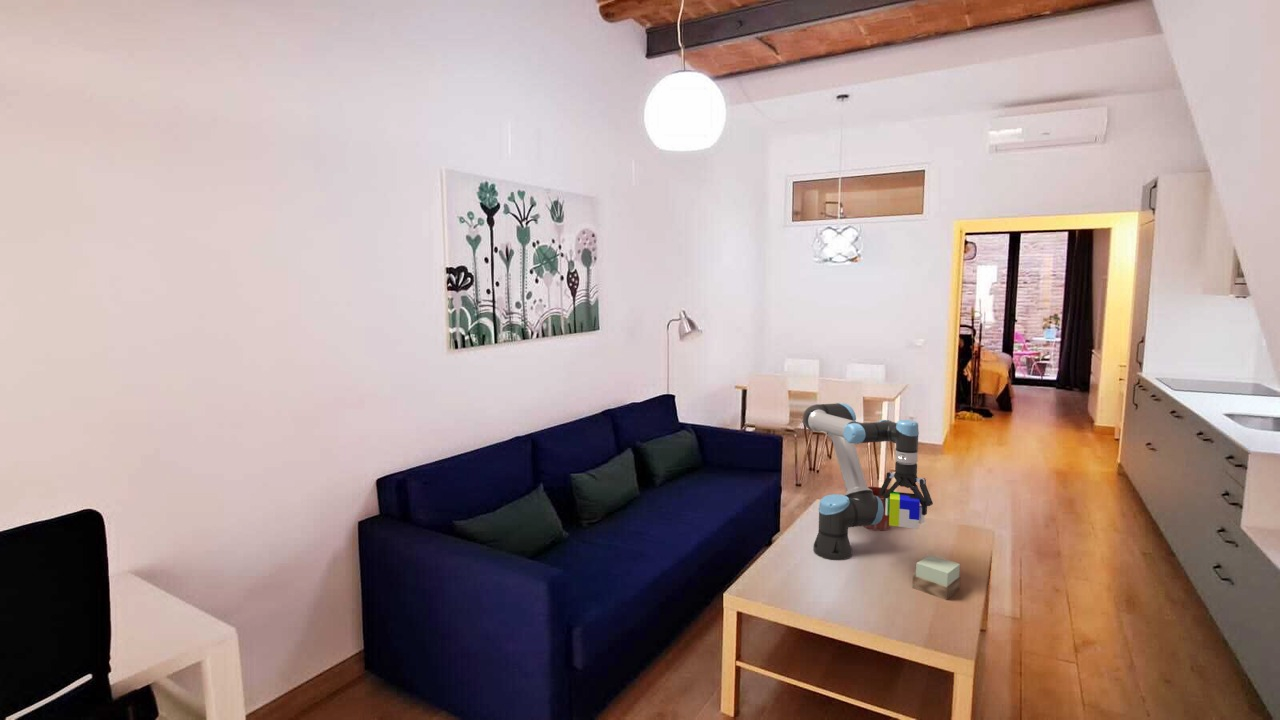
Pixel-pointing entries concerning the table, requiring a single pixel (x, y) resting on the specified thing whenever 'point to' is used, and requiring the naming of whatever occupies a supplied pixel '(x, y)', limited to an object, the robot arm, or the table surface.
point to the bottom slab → (936, 587)
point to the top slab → (937, 570)
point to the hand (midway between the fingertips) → (904, 518)
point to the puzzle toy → (904, 510)
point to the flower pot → (885, 518)
